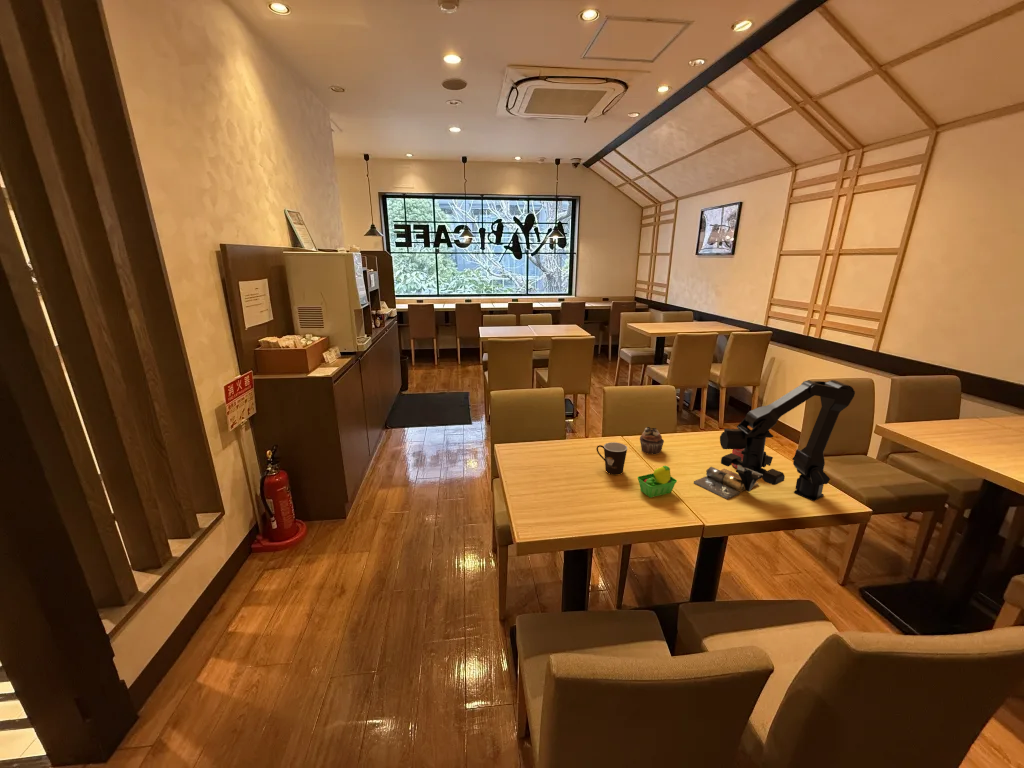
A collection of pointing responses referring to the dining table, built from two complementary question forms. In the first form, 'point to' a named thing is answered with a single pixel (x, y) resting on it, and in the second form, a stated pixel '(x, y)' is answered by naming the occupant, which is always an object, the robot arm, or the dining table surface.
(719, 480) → the steel leaf
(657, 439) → the cupcake
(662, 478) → the fruit basket
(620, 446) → the coffee mug
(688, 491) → the dining table surface
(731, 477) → the brass leaf
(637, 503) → the dining table surface
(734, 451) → the soda can
